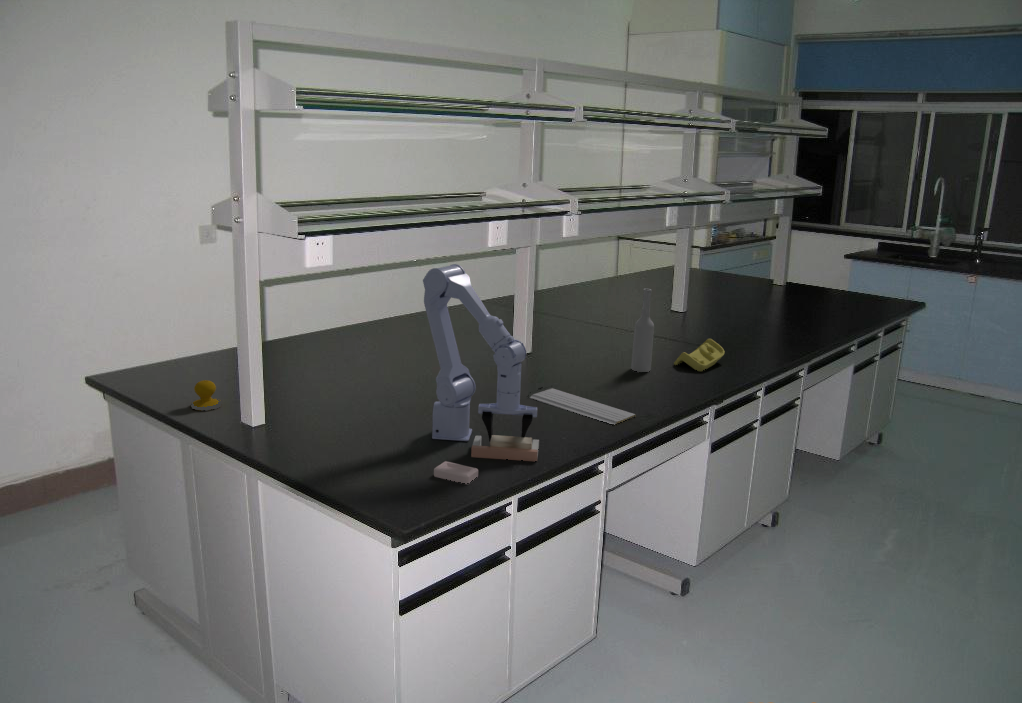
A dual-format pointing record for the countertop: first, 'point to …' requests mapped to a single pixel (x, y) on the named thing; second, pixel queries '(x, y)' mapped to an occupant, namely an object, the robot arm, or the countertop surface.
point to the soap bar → (455, 472)
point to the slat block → (511, 442)
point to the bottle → (643, 337)
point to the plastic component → (702, 356)
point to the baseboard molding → (582, 406)
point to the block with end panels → (504, 451)
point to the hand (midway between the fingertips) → (506, 441)
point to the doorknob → (205, 393)
